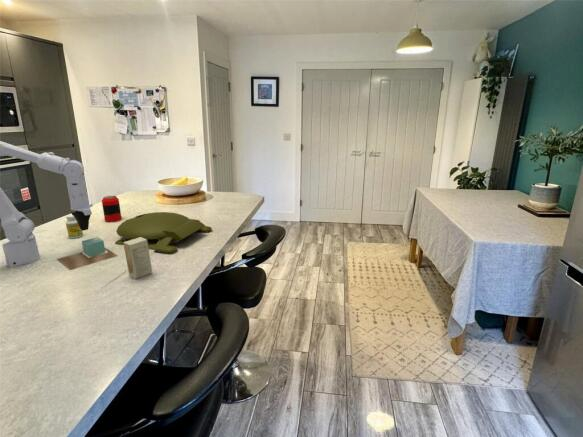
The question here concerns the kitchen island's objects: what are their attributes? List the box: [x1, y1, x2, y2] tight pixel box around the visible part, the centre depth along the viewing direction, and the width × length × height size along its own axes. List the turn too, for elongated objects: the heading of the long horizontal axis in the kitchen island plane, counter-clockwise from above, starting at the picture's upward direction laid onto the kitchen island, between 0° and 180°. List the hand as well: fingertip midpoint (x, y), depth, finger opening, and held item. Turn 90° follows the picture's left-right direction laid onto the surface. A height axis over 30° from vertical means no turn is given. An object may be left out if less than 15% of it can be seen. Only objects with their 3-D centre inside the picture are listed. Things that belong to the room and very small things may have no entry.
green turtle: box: [114, 211, 213, 255], centre depth 147 cm, size 35×31×10 cm
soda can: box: [101, 195, 122, 223], centre depth 169 cm, size 8×8×12 cm
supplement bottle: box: [65, 214, 83, 239], centre depth 147 cm, size 5×5×10 cm
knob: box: [81, 236, 106, 257], centre depth 127 cm, size 6×6×5 cm
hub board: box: [56, 247, 119, 271], centre depth 124 cm, size 16×14×4 cm
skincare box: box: [123, 237, 153, 280], centre depth 112 cm, size 6×4×12 cm
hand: (84, 229), depth 127 cm, fingers closed
